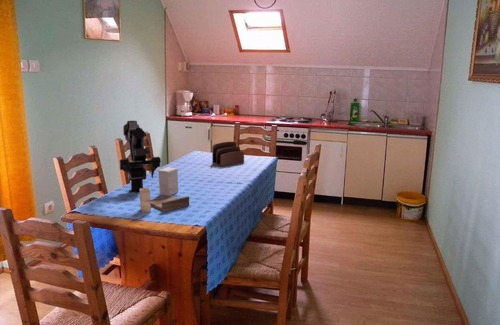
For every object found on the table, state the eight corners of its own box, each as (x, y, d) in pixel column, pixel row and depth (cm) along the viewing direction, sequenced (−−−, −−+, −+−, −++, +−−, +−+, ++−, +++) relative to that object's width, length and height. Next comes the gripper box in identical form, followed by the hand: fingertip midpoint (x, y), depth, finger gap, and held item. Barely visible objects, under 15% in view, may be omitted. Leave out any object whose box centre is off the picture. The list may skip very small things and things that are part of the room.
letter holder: (212, 164, 286) (211, 143, 283) (235, 160, 299) (235, 140, 295) (220, 166, 279) (220, 145, 276) (244, 162, 291) (244, 142, 288)
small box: (168, 190, 226) (168, 166, 223) (178, 192, 223) (177, 168, 220) (159, 194, 219) (158, 170, 216) (169, 196, 216) (168, 171, 213)
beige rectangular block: (140, 209, 197) (139, 188, 195) (149, 208, 199) (148, 187, 196) (141, 212, 193) (140, 191, 190) (150, 211, 194) (149, 190, 192)
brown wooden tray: (146, 203, 206) (145, 194, 205) (170, 197, 215) (170, 189, 214) (163, 211, 194) (163, 203, 193) (189, 205, 204) (189, 196, 203)
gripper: (118, 142, 197) (122, 171, 189) (159, 140, 203) (164, 168, 196) (118, 155, 206) (121, 183, 198) (157, 153, 212) (161, 180, 205)
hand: (142, 178), depth 199 cm, fingers open, 9 cm apart
